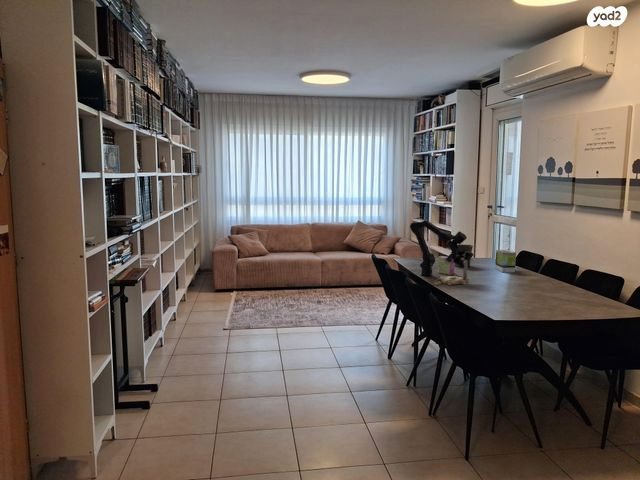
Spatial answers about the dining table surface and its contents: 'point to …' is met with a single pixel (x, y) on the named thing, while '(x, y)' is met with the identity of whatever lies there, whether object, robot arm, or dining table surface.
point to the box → (445, 266)
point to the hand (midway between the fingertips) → (466, 267)
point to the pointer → (437, 282)
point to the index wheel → (455, 277)
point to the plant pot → (465, 253)
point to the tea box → (505, 260)
